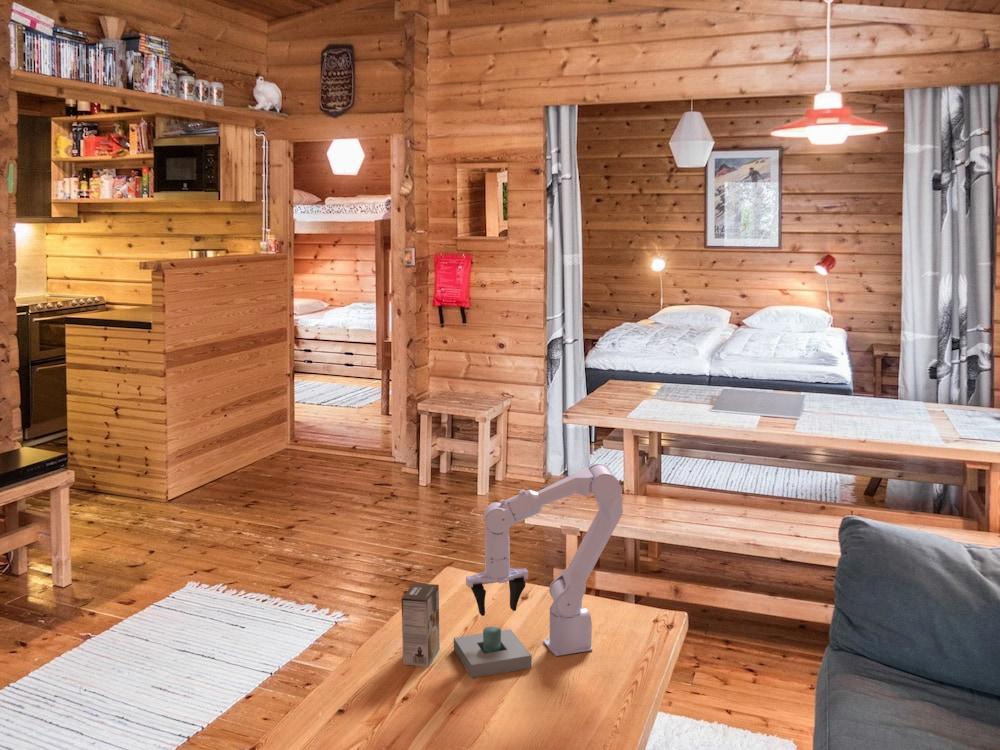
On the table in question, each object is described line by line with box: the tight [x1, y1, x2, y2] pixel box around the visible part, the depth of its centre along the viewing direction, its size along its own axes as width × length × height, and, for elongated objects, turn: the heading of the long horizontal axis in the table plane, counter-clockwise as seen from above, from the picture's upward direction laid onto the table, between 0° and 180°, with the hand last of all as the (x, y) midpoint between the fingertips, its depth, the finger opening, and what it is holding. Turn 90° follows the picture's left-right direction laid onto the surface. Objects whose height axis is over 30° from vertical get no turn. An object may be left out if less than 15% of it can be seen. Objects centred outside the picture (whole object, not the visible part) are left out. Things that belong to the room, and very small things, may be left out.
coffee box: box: [400, 582, 441, 668], centre depth 208 cm, size 9×6×16 cm
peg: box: [482, 626, 502, 653], centre depth 207 cm, size 4×4×7 cm
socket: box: [453, 628, 533, 679], centre depth 208 cm, size 14×14×3 cm
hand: (497, 611), depth 211 cm, fingers open, 7 cm apart
